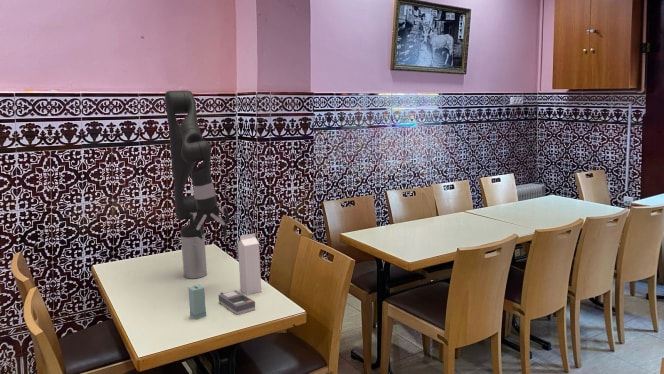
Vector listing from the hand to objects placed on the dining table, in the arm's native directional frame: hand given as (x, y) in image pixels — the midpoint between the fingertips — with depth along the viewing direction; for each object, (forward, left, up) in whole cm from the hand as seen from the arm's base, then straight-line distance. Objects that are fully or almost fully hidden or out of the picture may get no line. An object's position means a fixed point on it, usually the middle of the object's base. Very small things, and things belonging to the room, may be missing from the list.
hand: (212, 236), depth 209 cm
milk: (+10, +9, -21) cm, 25 cm away
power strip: (+18, -2, -21) cm, 27 cm away
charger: (+19, -16, -21) cm, 32 cm away
